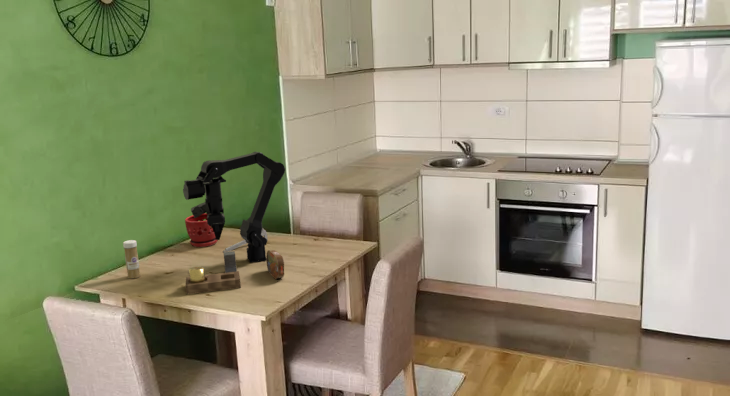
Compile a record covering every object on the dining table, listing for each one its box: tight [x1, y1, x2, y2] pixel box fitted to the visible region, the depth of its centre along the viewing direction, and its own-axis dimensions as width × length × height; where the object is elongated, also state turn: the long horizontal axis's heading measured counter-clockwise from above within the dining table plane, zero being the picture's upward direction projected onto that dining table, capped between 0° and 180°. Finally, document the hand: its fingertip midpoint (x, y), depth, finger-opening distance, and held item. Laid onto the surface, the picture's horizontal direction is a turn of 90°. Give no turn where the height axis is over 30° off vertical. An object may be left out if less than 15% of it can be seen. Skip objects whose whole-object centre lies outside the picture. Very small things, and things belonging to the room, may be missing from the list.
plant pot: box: [184, 213, 219, 248], centre depth 284 cm, size 13×13×12 cm
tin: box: [266, 249, 285, 280], centre depth 241 cm, size 15×3×8 cm, turn 23°
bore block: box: [185, 270, 242, 295], centre depth 233 cm, size 18×9×3 cm, turn 103°
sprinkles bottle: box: [122, 239, 141, 279], centre depth 246 cm, size 5×5×14 cm
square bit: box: [223, 250, 238, 273], centre depth 248 cm, size 4×4×7 cm
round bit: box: [188, 266, 205, 284], centre depth 232 cm, size 5×5×7 cm
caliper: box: [222, 227, 268, 253], centre depth 279 cm, size 20×1×6 cm, turn 129°
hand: (217, 236), depth 251 cm, fingers open, 9 cm apart
